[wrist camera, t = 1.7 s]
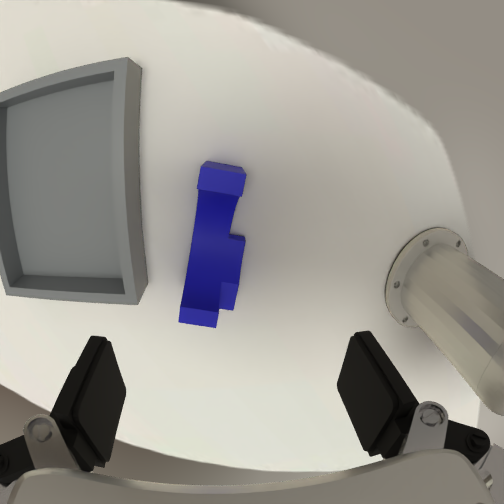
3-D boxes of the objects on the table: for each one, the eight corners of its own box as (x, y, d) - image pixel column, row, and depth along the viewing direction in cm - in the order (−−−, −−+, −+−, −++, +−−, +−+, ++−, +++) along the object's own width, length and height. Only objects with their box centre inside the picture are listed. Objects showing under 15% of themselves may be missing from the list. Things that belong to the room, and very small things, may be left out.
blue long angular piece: (232, 294, 28) (234, 330, 23) (186, 286, 28) (178, 322, 22) (258, 170, 24) (268, 179, 19) (206, 160, 24) (200, 166, 18)
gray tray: (142, 68, 20) (127, 57, 16) (148, 283, 27) (137, 305, 23) (7, 101, 18) (-16, 99, 15) (24, 278, 25) (6, 295, 22)
